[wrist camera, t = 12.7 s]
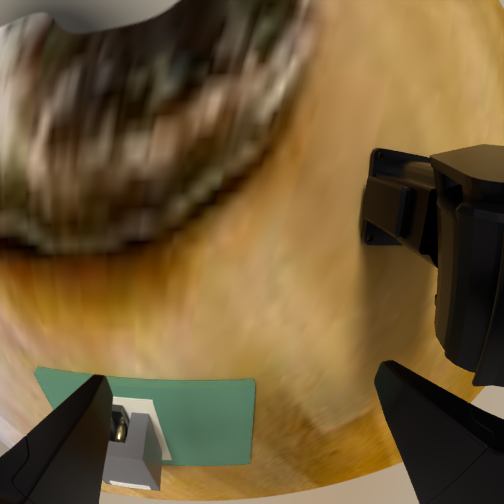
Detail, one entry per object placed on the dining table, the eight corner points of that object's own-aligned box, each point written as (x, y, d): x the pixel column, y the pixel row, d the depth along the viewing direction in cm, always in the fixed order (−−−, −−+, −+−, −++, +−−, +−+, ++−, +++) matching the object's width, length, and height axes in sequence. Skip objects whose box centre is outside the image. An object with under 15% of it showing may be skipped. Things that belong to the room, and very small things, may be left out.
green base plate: (253, 378, 23) (255, 388, 22) (248, 457, 28) (249, 464, 27) (37, 366, 20) (33, 374, 19) (84, 447, 25) (82, 454, 24)
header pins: (122, 405, 21) (117, 427, 19) (144, 454, 24) (142, 472, 22) (110, 403, 21) (104, 425, 19) (133, 453, 24) (131, 471, 22)
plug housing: (148, 413, 22) (142, 460, 17) (162, 451, 24) (160, 491, 20) (91, 407, 21) (78, 450, 16) (112, 446, 24) (105, 484, 19)
